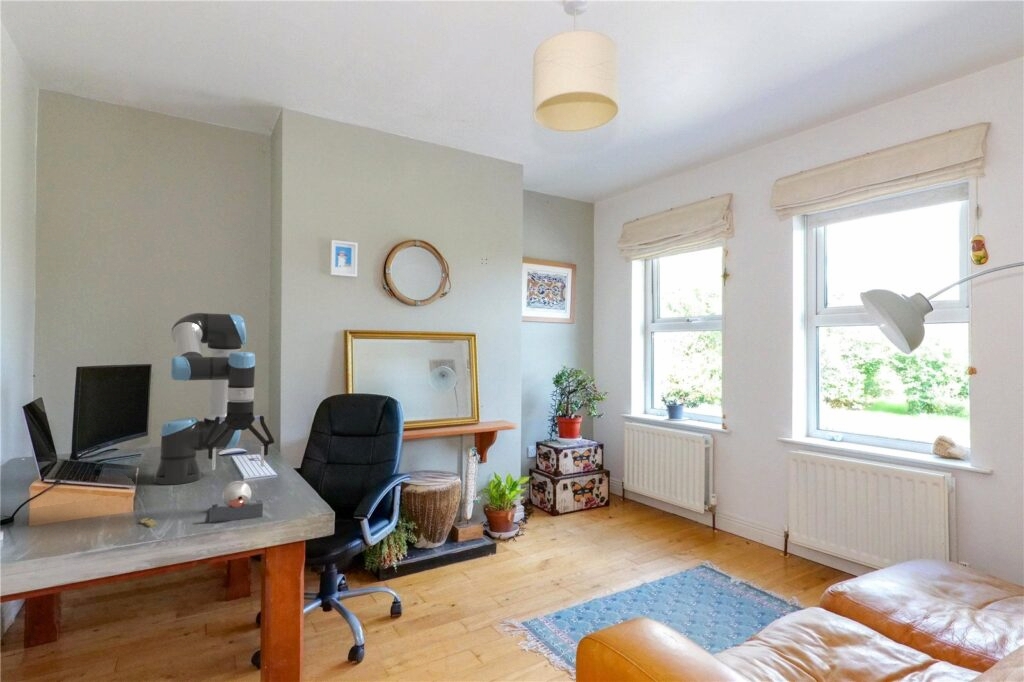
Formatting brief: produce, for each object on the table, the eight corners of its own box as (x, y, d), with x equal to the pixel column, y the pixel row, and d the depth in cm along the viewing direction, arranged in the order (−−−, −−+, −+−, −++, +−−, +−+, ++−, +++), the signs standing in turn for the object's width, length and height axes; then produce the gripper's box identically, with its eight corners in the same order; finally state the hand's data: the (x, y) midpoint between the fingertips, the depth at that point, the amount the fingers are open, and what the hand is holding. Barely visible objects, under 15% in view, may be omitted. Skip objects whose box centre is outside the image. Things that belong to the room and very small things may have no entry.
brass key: (139, 522, 150) (139, 519, 150) (150, 520, 152) (150, 517, 152) (147, 527, 146) (147, 524, 146) (158, 525, 148) (159, 522, 148)
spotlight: (252, 500, 169) (247, 477, 168) (257, 511, 160) (253, 486, 159) (224, 508, 164) (220, 484, 164) (228, 520, 155) (223, 494, 154)
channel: (212, 508, 164) (213, 490, 164) (261, 503, 170) (261, 486, 170) (208, 524, 150) (209, 504, 150) (262, 518, 156) (263, 499, 156)
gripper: (193, 402, 155) (191, 473, 155) (284, 401, 166) (281, 466, 166) (195, 400, 162) (193, 467, 161) (282, 398, 173) (280, 461, 173)
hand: (238, 467), depth 164 cm, fingers open, 13 cm apart
